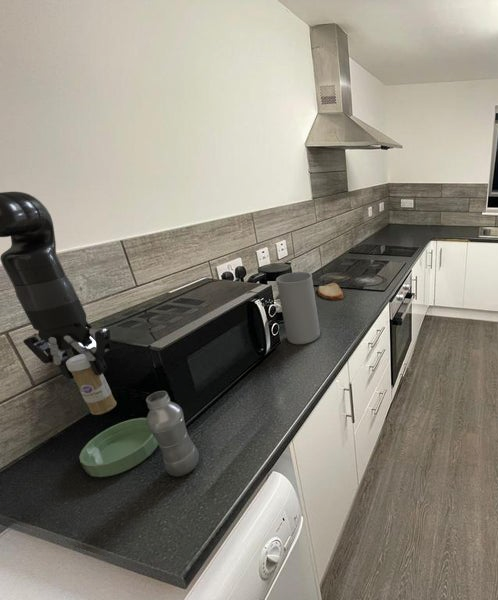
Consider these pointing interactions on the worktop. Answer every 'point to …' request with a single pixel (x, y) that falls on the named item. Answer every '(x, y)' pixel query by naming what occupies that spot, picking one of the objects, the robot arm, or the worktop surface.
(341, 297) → the slice of bread
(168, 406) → the plastic bottle
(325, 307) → the worktop surface
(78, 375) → the sprinkles bottle
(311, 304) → the cylinder vase
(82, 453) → the bowl
